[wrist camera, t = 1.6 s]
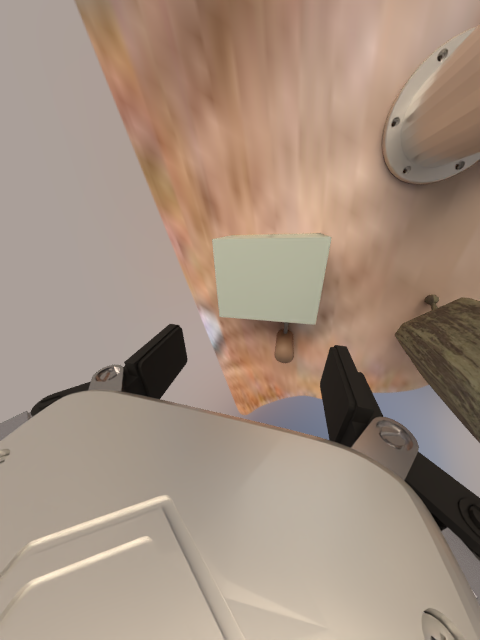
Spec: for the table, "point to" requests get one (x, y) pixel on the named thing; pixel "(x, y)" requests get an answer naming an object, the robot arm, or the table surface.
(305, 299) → the cubby shelf
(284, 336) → the corded block
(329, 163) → the table surface
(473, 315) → the tabletop clock
